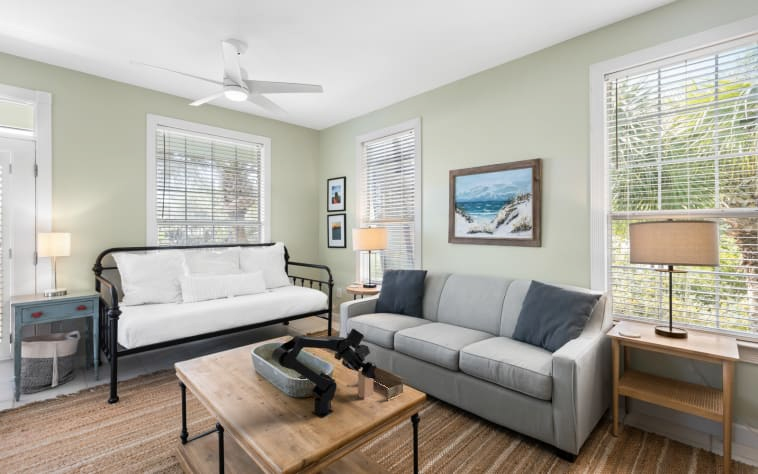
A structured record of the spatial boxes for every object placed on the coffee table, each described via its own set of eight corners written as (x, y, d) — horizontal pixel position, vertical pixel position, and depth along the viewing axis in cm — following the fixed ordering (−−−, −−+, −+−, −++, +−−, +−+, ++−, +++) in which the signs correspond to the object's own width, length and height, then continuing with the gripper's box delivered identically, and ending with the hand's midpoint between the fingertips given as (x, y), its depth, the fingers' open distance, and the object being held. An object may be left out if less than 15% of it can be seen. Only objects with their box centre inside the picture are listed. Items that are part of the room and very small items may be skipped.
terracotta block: (364, 399, 159) (365, 372, 158) (357, 395, 162) (358, 369, 162) (373, 396, 162) (373, 370, 162) (366, 392, 166) (366, 367, 166)
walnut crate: (388, 401, 157) (388, 383, 157) (358, 385, 173) (359, 369, 173) (402, 395, 164) (403, 377, 163) (373, 380, 179) (373, 364, 179)
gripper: (373, 345, 152) (391, 365, 160) (347, 336, 166) (365, 354, 174) (358, 368, 147) (378, 387, 155) (333, 356, 161) (352, 374, 169)
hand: (368, 374), depth 163 cm, fingers open, 9 cm apart
